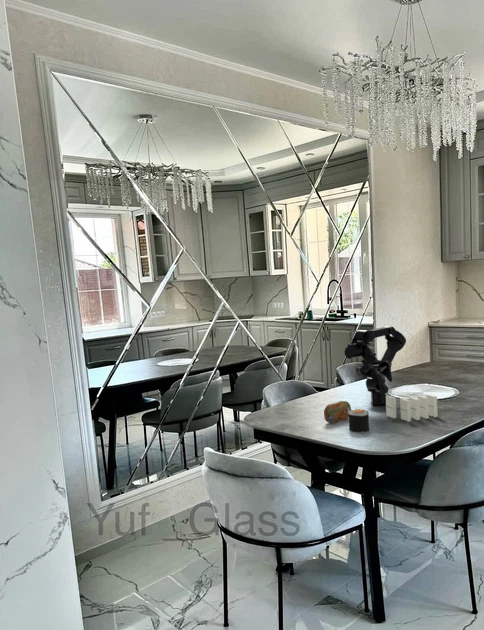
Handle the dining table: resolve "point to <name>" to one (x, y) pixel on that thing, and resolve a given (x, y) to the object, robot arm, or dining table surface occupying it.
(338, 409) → the tin
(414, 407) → the domino
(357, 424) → the sushi
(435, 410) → the domino
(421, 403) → the domino
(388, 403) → the domino
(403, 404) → the domino
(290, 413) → the dining table surface
